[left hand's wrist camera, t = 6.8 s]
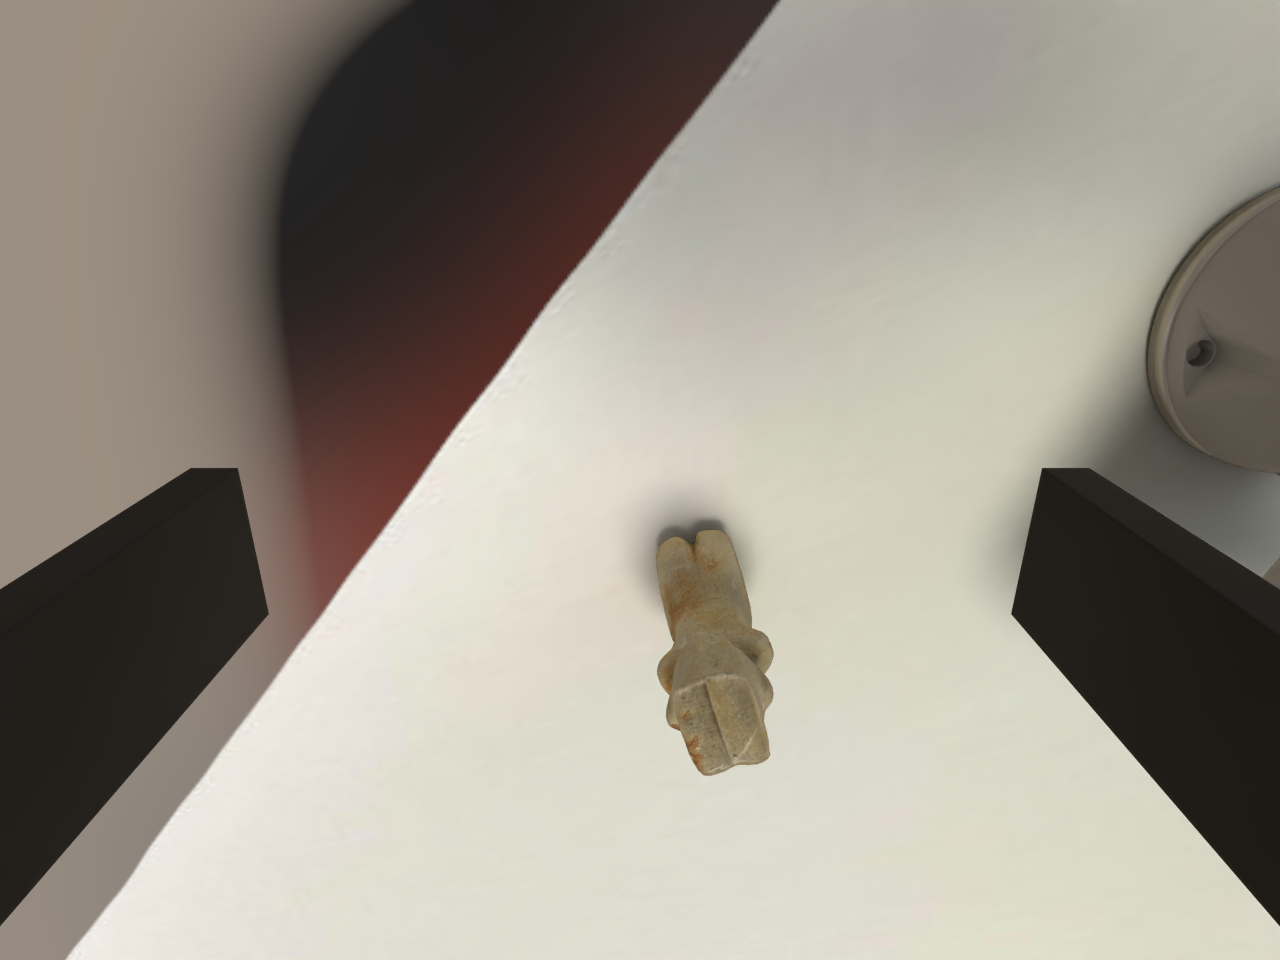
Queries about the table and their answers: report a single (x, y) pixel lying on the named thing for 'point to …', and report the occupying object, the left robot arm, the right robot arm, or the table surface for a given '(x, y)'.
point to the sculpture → (713, 654)
